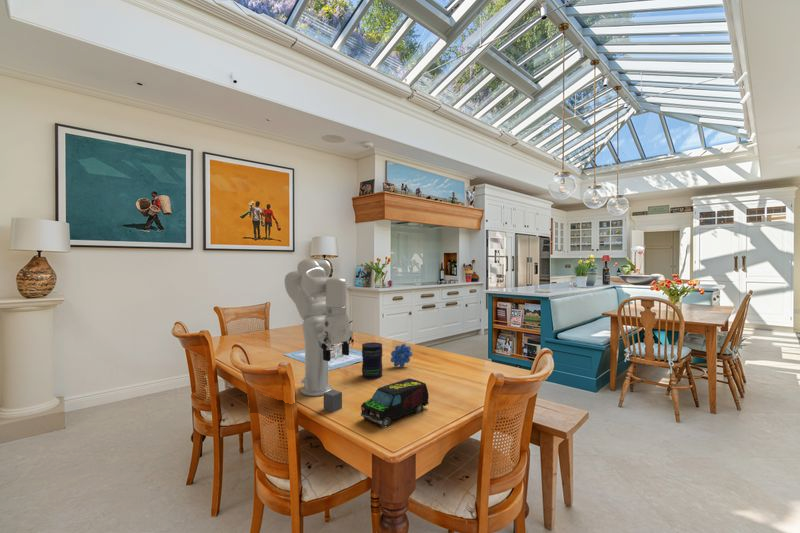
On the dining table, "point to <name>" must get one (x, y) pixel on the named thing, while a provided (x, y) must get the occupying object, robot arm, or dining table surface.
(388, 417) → the toy van
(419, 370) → the dining table surface
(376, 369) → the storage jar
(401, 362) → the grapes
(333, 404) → the grey block
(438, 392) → the dining table surface
